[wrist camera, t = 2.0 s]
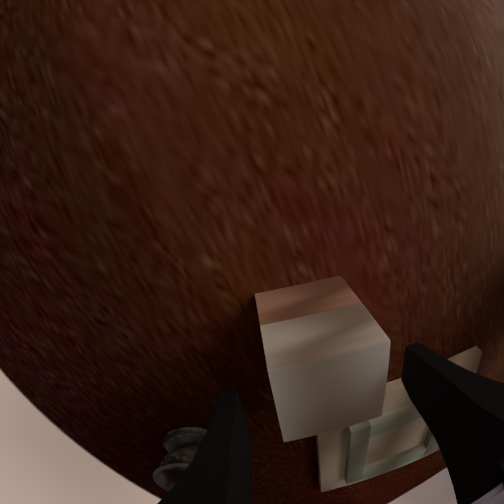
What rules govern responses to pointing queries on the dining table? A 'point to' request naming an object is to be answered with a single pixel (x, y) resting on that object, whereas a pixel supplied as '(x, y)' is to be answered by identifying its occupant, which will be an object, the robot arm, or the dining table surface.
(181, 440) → the dark grey chess piece
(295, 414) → the brown and beige block
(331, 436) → the pocket board
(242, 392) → the dining table surface
